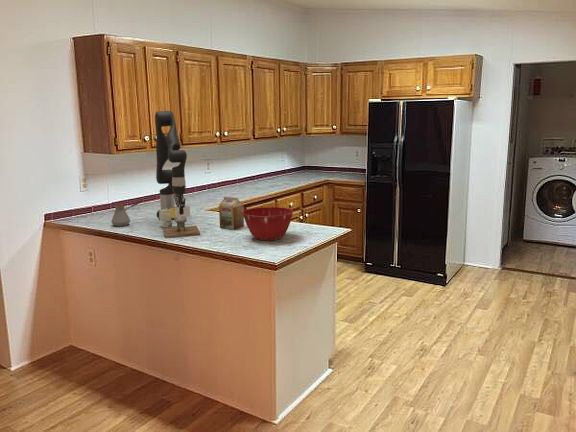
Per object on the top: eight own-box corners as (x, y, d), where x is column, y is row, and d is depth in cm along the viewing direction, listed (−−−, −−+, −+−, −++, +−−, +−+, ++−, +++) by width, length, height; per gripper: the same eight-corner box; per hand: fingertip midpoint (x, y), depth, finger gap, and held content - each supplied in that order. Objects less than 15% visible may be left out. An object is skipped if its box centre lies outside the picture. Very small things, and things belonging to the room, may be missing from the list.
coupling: (170, 221, 299) (169, 206, 297) (189, 219, 303) (188, 204, 301) (171, 223, 292) (171, 208, 291) (191, 222, 296) (190, 206, 294)
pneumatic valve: (160, 225, 319) (159, 207, 316) (178, 226, 316) (176, 207, 314) (156, 227, 313) (155, 208, 311) (174, 228, 311) (173, 209, 309)
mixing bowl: (243, 232, 298) (242, 206, 295) (291, 231, 300) (291, 205, 297) (242, 245, 271) (241, 216, 267) (295, 243, 272) (295, 215, 269)
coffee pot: (113, 228, 314) (111, 204, 311) (110, 224, 323) (108, 201, 320) (148, 224, 324) (146, 201, 321) (143, 220, 334) (142, 198, 331)
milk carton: (244, 226, 313) (243, 196, 309) (233, 230, 304) (232, 199, 300) (230, 225, 318) (229, 195, 314) (219, 228, 309) (218, 197, 306)
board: (163, 230, 306) (162, 220, 304) (196, 228, 311) (196, 217, 310) (165, 238, 287) (164, 227, 286) (200, 235, 292) (199, 224, 291)
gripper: (168, 183, 297) (170, 212, 301) (176, 186, 285) (178, 216, 289) (181, 182, 301) (182, 211, 304) (189, 185, 289) (190, 215, 293)
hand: (180, 213), depth 297 cm, fingers closed on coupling, 3 cm apart
